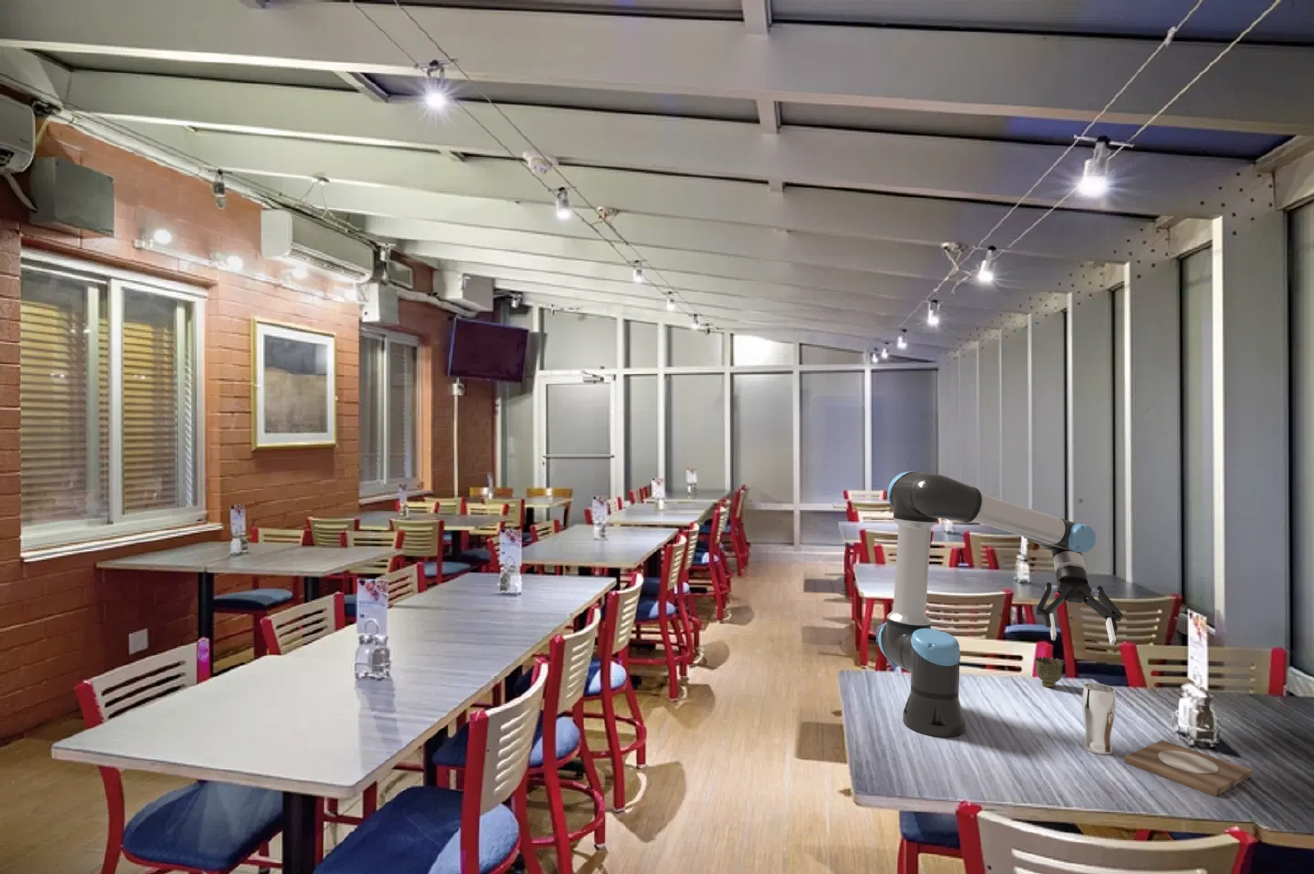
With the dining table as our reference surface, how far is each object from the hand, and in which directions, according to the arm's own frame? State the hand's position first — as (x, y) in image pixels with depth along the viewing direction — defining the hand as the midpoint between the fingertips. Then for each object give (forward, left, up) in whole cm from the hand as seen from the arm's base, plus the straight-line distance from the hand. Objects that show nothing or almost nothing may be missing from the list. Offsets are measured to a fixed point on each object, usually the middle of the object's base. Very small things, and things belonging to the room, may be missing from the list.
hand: (1083, 640), depth 189 cm
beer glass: (-11, -10, -23) cm, 27 cm away
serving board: (-4, -26, -22) cm, 34 cm away
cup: (+22, +21, -23) cm, 38 cm away
